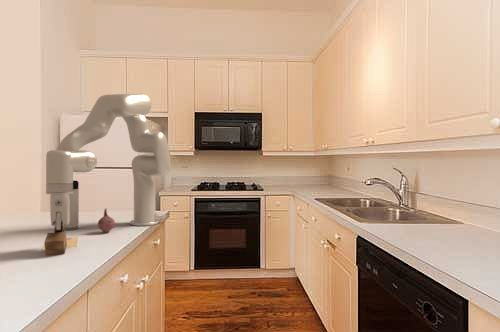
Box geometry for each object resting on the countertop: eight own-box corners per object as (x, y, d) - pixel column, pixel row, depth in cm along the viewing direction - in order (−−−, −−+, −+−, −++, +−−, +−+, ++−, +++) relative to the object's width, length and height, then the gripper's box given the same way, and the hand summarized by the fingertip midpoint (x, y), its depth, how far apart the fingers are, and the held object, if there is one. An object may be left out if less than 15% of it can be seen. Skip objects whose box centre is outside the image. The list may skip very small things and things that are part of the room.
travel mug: (82, 227, 144) (82, 180, 143) (72, 230, 137) (72, 181, 137) (68, 226, 144) (68, 180, 144) (58, 229, 138) (58, 181, 137)
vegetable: (95, 233, 133) (95, 208, 133) (110, 230, 137) (110, 206, 137) (101, 235, 129) (101, 209, 129) (117, 233, 133) (117, 208, 133)
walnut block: (66, 245, 107) (65, 231, 106) (64, 254, 103) (63, 240, 101) (48, 246, 105) (47, 233, 104) (45, 256, 101) (44, 241, 99)
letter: (77, 237, 125) (77, 237, 125) (77, 247, 111) (77, 246, 111) (46, 240, 120) (46, 239, 120) (41, 250, 107) (41, 249, 107)
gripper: (72, 190, 102) (72, 250, 103) (73, 186, 116) (73, 239, 116) (43, 191, 99) (43, 253, 99) (48, 187, 112) (48, 241, 113)
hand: (59, 245), depth 108 cm, fingers closed
